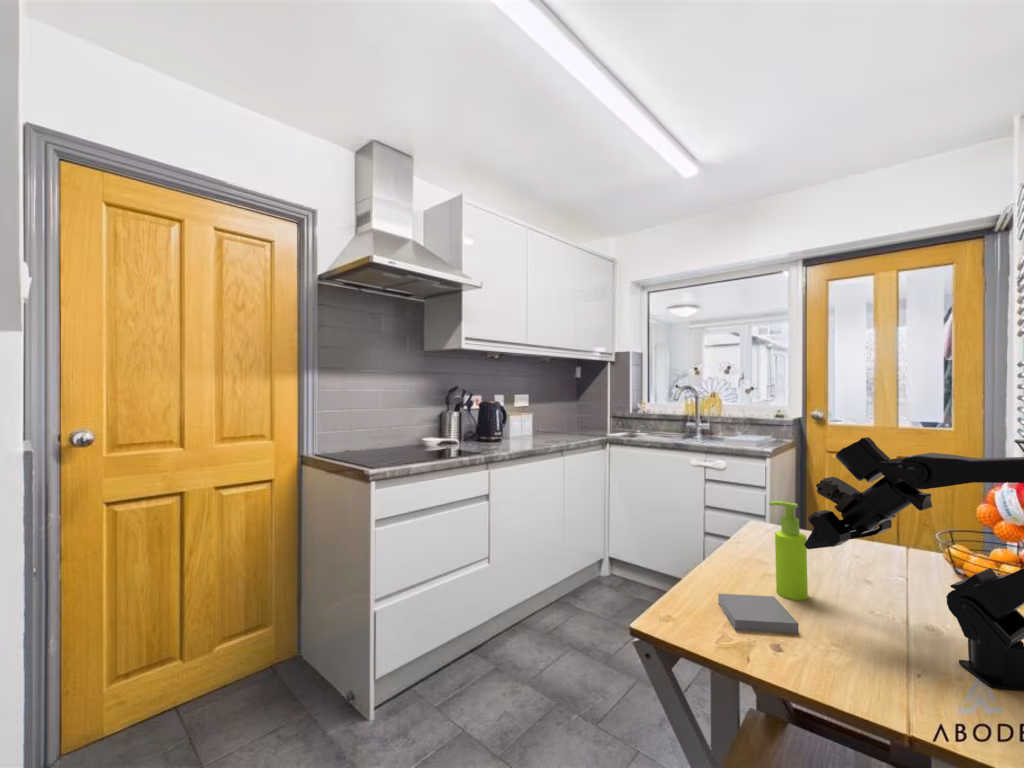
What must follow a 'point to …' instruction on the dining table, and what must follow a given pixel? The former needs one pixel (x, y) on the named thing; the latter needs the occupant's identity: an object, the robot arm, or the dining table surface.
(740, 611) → the slate stand
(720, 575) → the dining table surface
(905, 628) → the dining table surface
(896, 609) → the dining table surface
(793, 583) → the soap dispenser
